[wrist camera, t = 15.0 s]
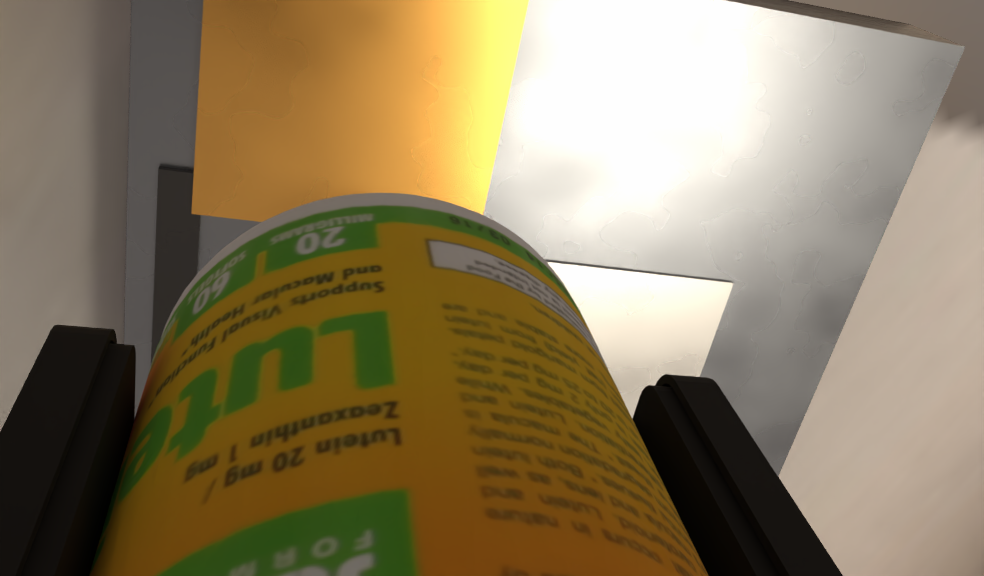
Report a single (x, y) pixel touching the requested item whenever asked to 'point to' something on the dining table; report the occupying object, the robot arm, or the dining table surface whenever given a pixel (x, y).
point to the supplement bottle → (385, 413)
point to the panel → (554, 158)
